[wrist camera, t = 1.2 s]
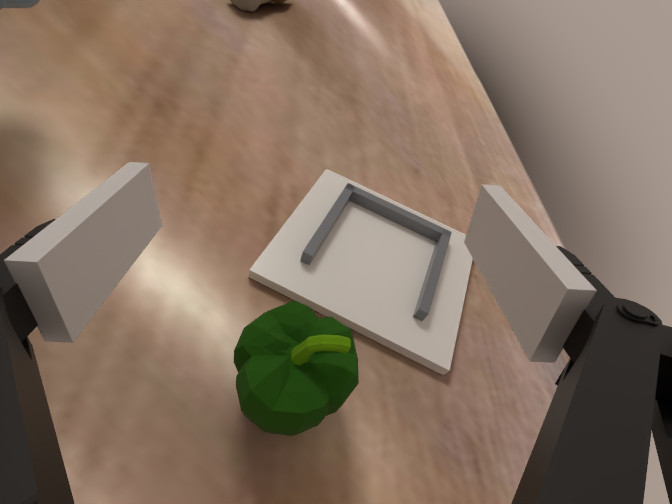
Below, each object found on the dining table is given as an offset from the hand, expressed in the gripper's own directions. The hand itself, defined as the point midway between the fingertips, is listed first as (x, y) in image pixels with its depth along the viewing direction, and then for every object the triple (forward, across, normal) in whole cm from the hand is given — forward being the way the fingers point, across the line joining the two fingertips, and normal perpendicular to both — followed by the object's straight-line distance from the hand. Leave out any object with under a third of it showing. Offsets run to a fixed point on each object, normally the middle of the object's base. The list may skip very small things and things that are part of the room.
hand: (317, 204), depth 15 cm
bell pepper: (+5, -2, -19) cm, 20 cm away
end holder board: (+19, +6, -16) cm, 26 cm away
